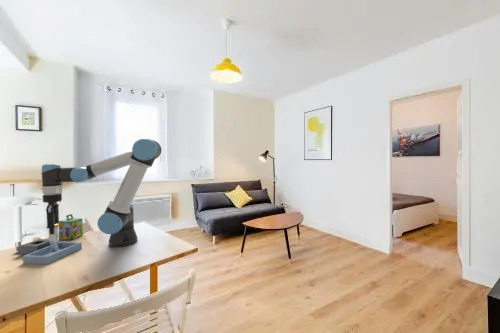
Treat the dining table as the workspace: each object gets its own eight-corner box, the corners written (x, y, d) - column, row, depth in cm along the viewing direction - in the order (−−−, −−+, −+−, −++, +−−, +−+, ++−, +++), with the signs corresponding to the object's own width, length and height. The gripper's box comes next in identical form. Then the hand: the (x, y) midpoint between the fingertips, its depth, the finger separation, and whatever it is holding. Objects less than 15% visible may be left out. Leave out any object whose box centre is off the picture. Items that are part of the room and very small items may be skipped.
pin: (49, 250, 124) (48, 224, 124) (60, 249, 127) (59, 223, 126) (47, 253, 120) (46, 226, 120) (58, 251, 123) (57, 225, 122)
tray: (60, 247, 134) (60, 241, 134) (81, 248, 133) (81, 242, 133) (23, 263, 114) (22, 256, 114) (47, 264, 113) (47, 257, 113)
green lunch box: (72, 240, 147) (71, 216, 147) (58, 240, 148) (57, 216, 147) (83, 235, 156) (82, 213, 156) (70, 235, 157) (69, 213, 157)
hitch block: (29, 247, 135) (29, 238, 135) (55, 248, 134) (54, 239, 133) (10, 254, 125) (9, 245, 125) (37, 255, 124) (36, 246, 123)
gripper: (47, 192, 128) (49, 235, 129) (37, 196, 113) (39, 245, 114) (64, 191, 132) (66, 232, 133) (57, 195, 117) (59, 242, 117)
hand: (53, 238), depth 123 cm, fingers closed on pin, 5 cm apart
